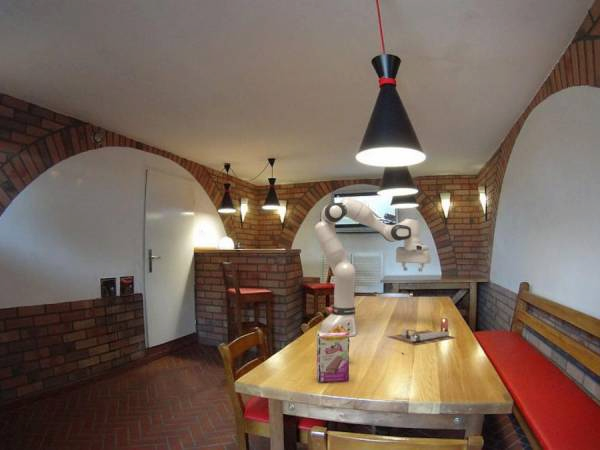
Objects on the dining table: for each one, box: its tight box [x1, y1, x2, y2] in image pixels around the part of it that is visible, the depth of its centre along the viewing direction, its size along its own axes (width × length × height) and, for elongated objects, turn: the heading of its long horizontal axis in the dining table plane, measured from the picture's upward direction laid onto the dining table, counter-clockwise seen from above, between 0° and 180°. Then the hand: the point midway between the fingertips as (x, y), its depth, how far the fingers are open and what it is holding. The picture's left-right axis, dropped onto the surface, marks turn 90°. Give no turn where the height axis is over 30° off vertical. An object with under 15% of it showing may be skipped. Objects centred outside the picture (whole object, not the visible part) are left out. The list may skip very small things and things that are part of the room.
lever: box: [411, 317, 450, 342], centre depth 183 cm, size 24×4×8 cm, turn 119°
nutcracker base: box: [387, 328, 457, 347], centre depth 188 cm, size 29×19×6 cm, turn 119°
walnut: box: [408, 329, 418, 340], centre depth 185 cm, size 4×4×4 cm
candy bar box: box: [316, 332, 350, 384], centre depth 134 cm, size 11×5×16 cm, turn 98°
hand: (412, 271), depth 212 cm, fingers open, 8 cm apart
